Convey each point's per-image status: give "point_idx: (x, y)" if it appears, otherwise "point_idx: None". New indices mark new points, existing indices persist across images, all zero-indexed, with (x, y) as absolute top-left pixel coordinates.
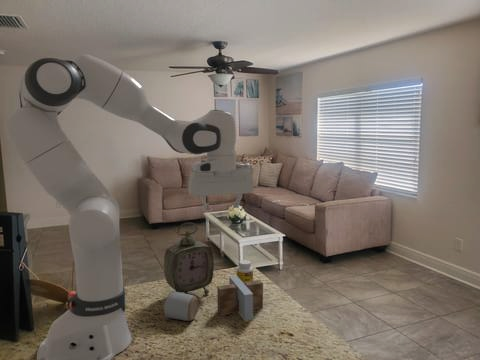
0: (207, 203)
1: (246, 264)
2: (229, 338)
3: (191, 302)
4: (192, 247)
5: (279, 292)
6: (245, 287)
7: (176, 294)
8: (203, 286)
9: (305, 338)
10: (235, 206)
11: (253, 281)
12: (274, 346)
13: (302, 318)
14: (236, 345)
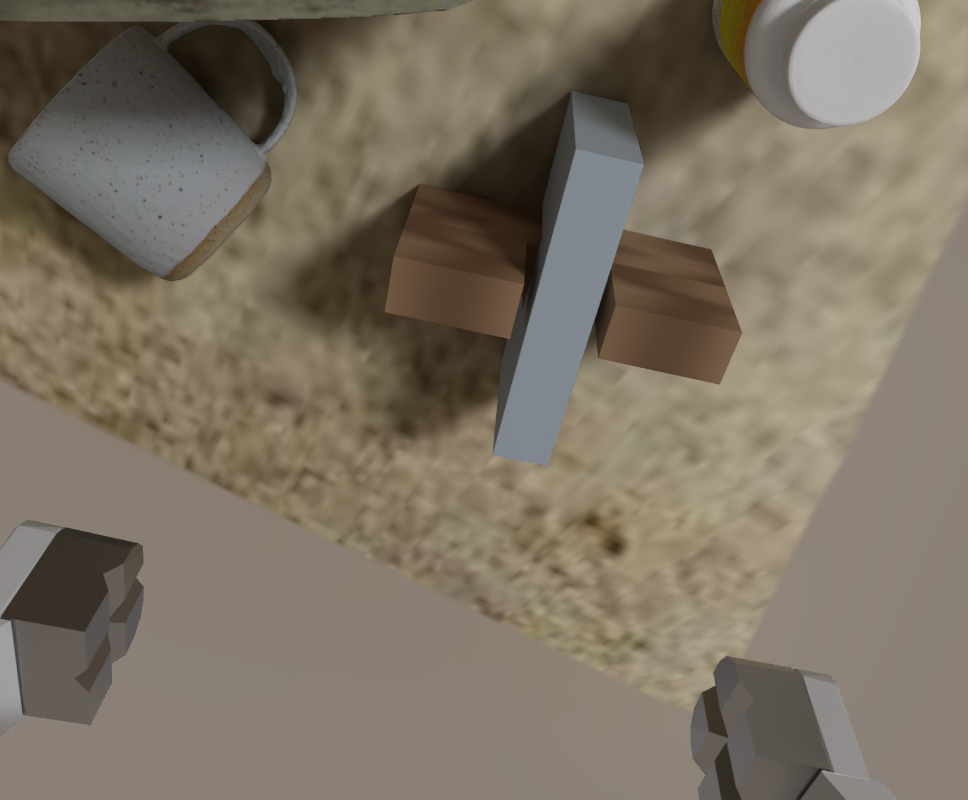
0: (61, 639)
1: (819, 122)
2: (350, 439)
3: (177, 277)
4: (164, 9)
5: (957, 189)
6: (563, 376)
7: (75, 180)
8: None
9: (643, 591)
10: (712, 758)
11: (679, 330)
12: (492, 567)
13: (773, 488)
14: (354, 491)
